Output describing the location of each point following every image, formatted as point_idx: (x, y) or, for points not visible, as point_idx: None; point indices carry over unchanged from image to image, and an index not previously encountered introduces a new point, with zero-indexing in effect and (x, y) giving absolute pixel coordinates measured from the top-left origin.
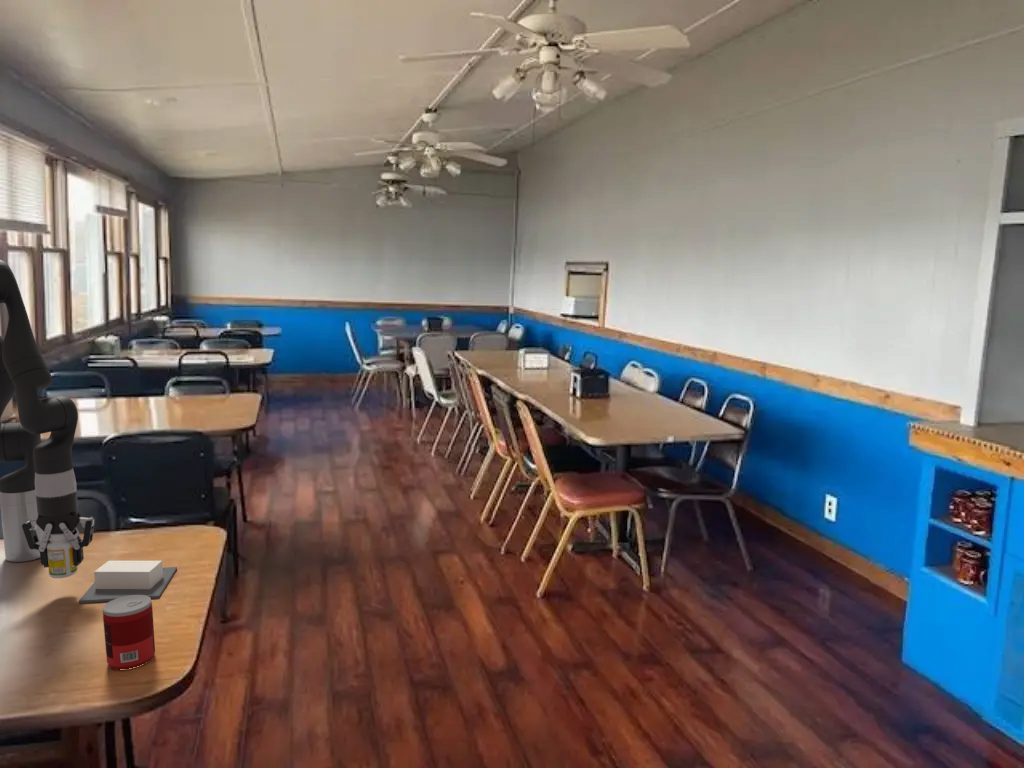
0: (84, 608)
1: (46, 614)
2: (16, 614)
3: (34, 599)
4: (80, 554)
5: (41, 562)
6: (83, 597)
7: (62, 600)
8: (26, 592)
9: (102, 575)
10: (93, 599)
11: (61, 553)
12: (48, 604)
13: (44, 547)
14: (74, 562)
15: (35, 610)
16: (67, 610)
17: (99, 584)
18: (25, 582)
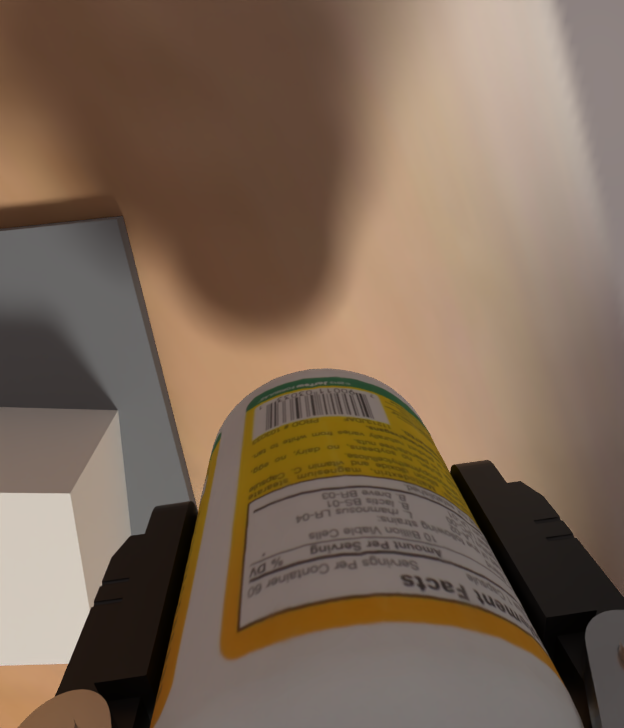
0: (17, 115)
1: (266, 10)
2: (503, 36)
3: (466, 302)
4: (90, 627)
5: (539, 502)
6: (115, 277)
7: (273, 277)
8: (547, 401)
9: (10, 469)
10: (11, 237)
11: (265, 574)
12: (339, 214)
13: (613, 693)
14: (177, 522)
15: (388, 107)
16: (135, 84)
17: (74, 426)
18: (589, 515)
